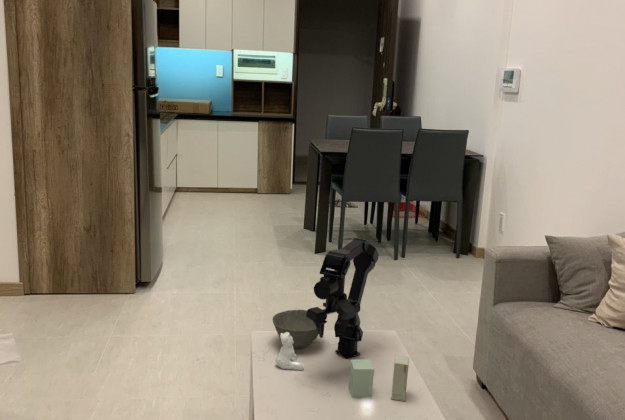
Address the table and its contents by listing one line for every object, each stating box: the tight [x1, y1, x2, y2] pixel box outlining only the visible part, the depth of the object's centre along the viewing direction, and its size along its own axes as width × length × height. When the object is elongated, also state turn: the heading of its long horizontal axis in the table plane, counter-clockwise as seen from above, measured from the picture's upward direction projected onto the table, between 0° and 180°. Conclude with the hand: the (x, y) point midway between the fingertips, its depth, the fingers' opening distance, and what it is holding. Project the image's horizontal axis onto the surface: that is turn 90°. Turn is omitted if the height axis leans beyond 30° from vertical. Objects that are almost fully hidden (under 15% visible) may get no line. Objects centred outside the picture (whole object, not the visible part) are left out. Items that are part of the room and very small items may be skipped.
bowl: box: [272, 309, 319, 349], centre depth 223 cm, size 19×19×10 cm
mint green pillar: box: [348, 359, 375, 399], centre depth 193 cm, size 6×6×10 cm
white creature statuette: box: [275, 332, 305, 371], centre depth 207 cm, size 10×9×12 cm
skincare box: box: [390, 354, 410, 402], centre depth 192 cm, size 6×4×12 cm
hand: (332, 334), depth 204 cm, fingers open, 9 cm apart
